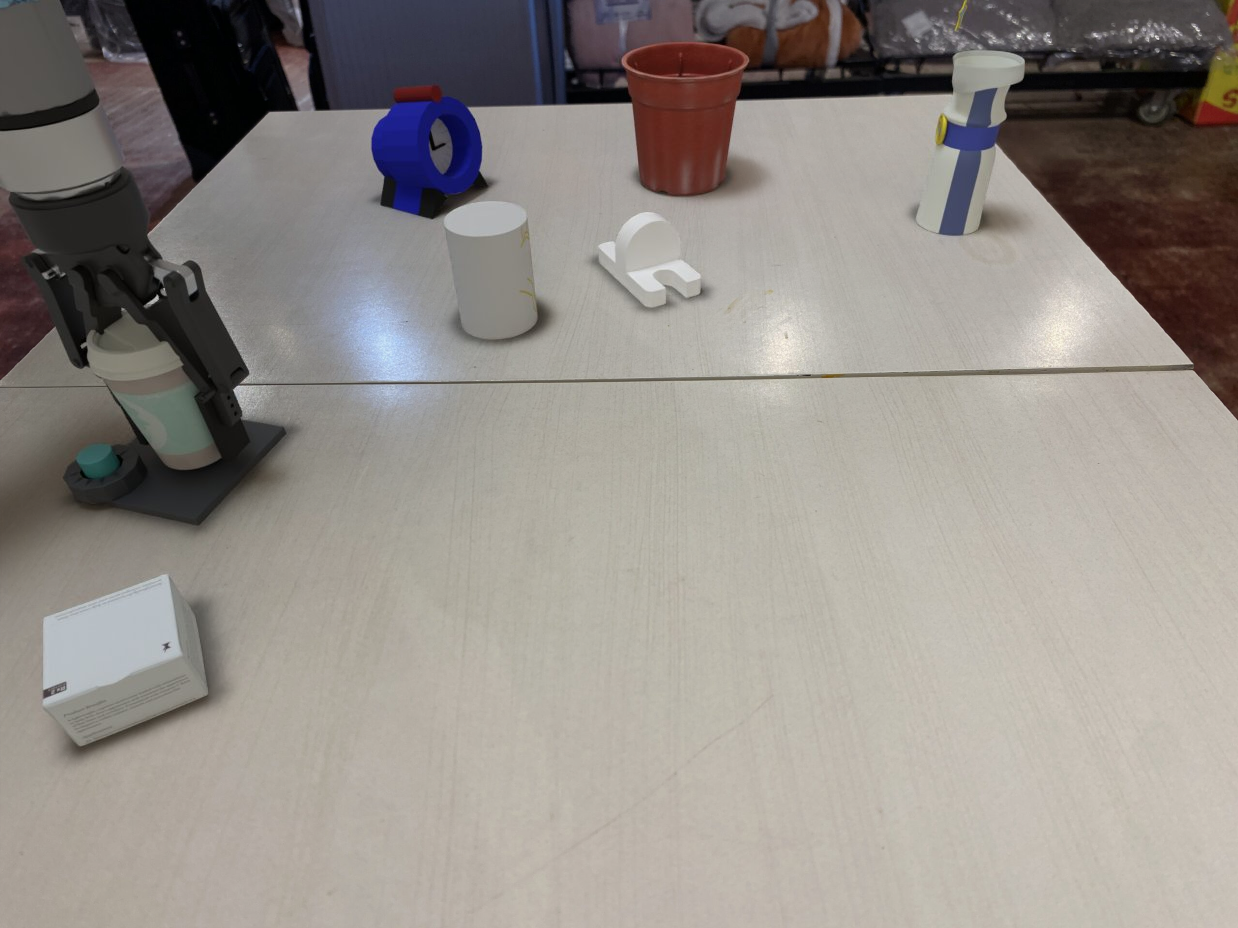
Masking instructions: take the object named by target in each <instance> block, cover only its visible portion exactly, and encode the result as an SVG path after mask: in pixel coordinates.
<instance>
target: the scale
mask: <svg viewBox="0 0 1238 928" xmlns="http://www.w3.org/2000/svg"><path fill="white" fill-rule="evenodd" d="M241 420H242V423H243V425H244V427H245V430H246V432H247V434H248V437H249V439H250V443H249V444H248V445H247V446H246V447H245V448H244V449H243V450H242V451H241V452H240V453H239V454H238V455H237V456H236V457H235V458H234V459H233V460H232V461H231V462H229V461H224V460H223V459H222V458H220V459H219V460H217V461H215V462H213V463H211V464H209V465H207V466H204V467H200V468H196V469H190V470H178V469H173V468H170V467H168V466H166V465H165V464H164V463H163V461H162V460H161V459H160V457H159V456H158V454H157V453H156V452H155V450H154V449H153V448H152V446H151V445H150V444H149V445H143V444H140V442H139V441H138V439H137V437H136V436H135V438H134V439H133V440H131V442H129V443H128V444H126V445H124V444H120V443H118V444H109V445H110V446H111V447H112V449H113V451H114V453H115V454H116V456H117V458H118V460H119V461H120V467H119V468H118V469H117V470H116V471H115V472H114V473H112V474H109V475H107V476H105V477H103V478H97V479H90V478H88V477H87V476H86V475H85V473H84V472H83V470H82V469H81V467H80V465H79V464H78V462H77V460H76V459H74V460H73V462H71V463H70V464H68V465H67V466H66V469H65V471H64V474H63V477H62V479H63V481H64V482H65V485H66V486H67V487H68V489H69V490H70V492H71V493H72V495H73V497H74V498H75V500H76V501H78V502H82V503H86V504H90V505H95V504H99V505H104V506H109V507H113V508H118V509H122V510H126V511H131V512H136V513H141V514H145V515H149V516H154V517H159V518H162V519H167V520H172V521H176V522H181V523H186V524H190V525H195V526H199V525H200V524H202V522H204V521H205V520H206V518H207V517H208V516H209V515H211V513H212V512H213V511H214V510H215V509H216V508H217V507H218V506H219V504H220V503H221V502H222V501H224V500H225V498H226V497H227V496H228V495H229V494H230V493H231V492H232V491H233V490H234V489H235V488H236V487H237V486H238V485H239V484H240V483H241V482H242V481H243V480H244V478H245V477H247V475H248V474H249V473H250V472H251V471H252V470H253V469H254V468H255V467H256V466H257V465H258V464H259V463H260V462H261V461H262V459H263V458H264V457H265V456H266V455H267V454H269V452H270V451H271V450H273V448H274V447H275V446H276V445H277V444H278V443H279V442H280V440H281V439H282V438H283V437H284V436H286V435H287V431H286V429H285V427H284V426H279V425H274V424H270V423H269V424H268V423H263V422H258V421H252V420H246V419H242V418H241Z"/></svg>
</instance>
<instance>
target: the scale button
mask: <svg viewBox="0 0 1238 928" xmlns="http://www.w3.org/2000/svg"><path fill="white" fill-rule="evenodd" d="M110 445H111V444H109V443H103V442H101V443H94V444H91V445H88V446H86V447H85V448H83V449H81V450H80V451H79V452H78V453H77V455H76V459H75V460H77V462H78V464H79V465H80V467H81V469H82V470H83V472H84V473H85V475H86V476H87V477H88V478H90V479H97V478H103V477H105V476H107V475H109V474H112V473H114V472H115V471H116V470H117V469H118V468H119V467H120V461H119V460H118V458H117V456H116V454H115V453H114V451H113V449H112V447H111V446H110Z"/></svg>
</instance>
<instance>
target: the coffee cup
mask: <svg viewBox="0 0 1238 928" xmlns="http://www.w3.org/2000/svg"><path fill="white" fill-rule="evenodd" d="M152 304H153V303H147V304H146V305H144V307H145V308H148V307H149V306H151V305H152ZM86 342H87V343H86ZM86 342H85V343H86V345H87V348H88V353H87V359H88V361H89V365H90V368H89V369H90V370H91V372H92V373H93V374H94V373H95V374H96V375H98V376H99V377H102V378H103V379H102V380H103V382H104V381H105V382H104V384H105V383H106V384H107V385H108V387H109V388H110V390H111V391H112V392H113V394H114V395H115V396H116V398H117V399H118V401H119V402H120V403H121V405H122V406H123V408H124V409H125V410H126V412H127V413H128V414H129V416H130V417H131V419H132V420H133V421H134V423H135V424H136V426H137V427H138V428H139V430H140V431H141V432H142V434H143V435H144V437H145V438H146V439H147V441H148V442H149V444H150V445H151V446H152V448H153V449H154V450H155V452H156V453H157V454H158V456H159V457H160V459H161V460H162V461H163V463H164V464H165V465H166V466H168V467H170V468H173V469H178V470H190V469H196V468H200V467H204V466H207V465H209V464H211V463H213V462H215V461H217V460H219V459H220V458H222V457H221V455H220V453H219V451H218V449H217V446H216V444H215V442H214V440H213V438H212V436H211V433H210V431H209V429H208V427H207V425H206V422H205V420H204V418H203V416H202V414H201V412H200V409H199V407H198V405H197V403H196V401H195V399H194V396H195V395H196V394H198V393H199V392H200V391H199V389H198V388H197V387H196V386H195V384H194V383H193V382H192V381H191V380H190V378H189V377H188V376H187V375H186V373H185V372H184V371H183V369H182V366H183V365H184V364H183V363H182V362H181V360H180V357H179V356H177V355H176V353H175V352H174V351H173V349H172V348H171V346H170V345H169V343H168V342H165V341H162V342H159V340H158V339H157V338H156V337H155V335H154V334H153V333H152V332H151V331H150V329H149V328H148V327H147V326H146V325H141V324H138V323H136V322H135V321H134V319H133V318H132V317H131V316H130V314H129V313H128V312H127V311H126V310H125V309H122V318H120V319H119V320H117V321H116V322H115V323H113V324H112V325H110V326H109V327H107V328H106V329H105V330H104V334H103V335H100V334H99V333H97V332H96V331H95V330H91V331H90V332H89V334H88V336H87V339H86ZM95 374H94V375H95ZM96 375H95V376H96ZM99 377H98V378H99ZM209 377H210V375H209V376H208V378H209ZM106 384H105V385H106Z"/></svg>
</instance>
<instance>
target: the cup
mask: <svg viewBox="0 0 1238 928" xmlns="http://www.w3.org/2000/svg"><path fill="white" fill-rule="evenodd" d="M443 226H444V232H445V233H444V234H445V238H446V244H447V250H448V256H449V260H450V261H449V262H450V266H451V272H452V278H453V284H454V288H455V295H456V300H457V301H456V302H457V307H458V311H459V317H460V318H459V319H460V323H461V327H462V329H463V330H464V331H465V332H466V333H467V334H468V335H470V336H473V337H475V338H479V339H483V340H506V339H510V338H514V337H518V336H520V335H522V334H525V333H527V331H530V330H531V329H532V328H533V327H534V326H535V325H536V324H537V321H538V319H539V318H538V317H539V316H538V315H539V314H538V306H537V305H538V304H537V297H536V287H535V286H536V285H535V276H534V268H533V267H534V266H533V259H532V249H531V238H530V229H529V219H528V213H527V211H526V209H525V208H523V207H522V206H520V205H518V204H516V203H513V202H508V201H501V200H485V201H483V200H482V201H477V202H472V203H467V204H464V205H460V206H459V207H457V208H454V209H453V210H451V211H450V212H448V213H447V214H446V215H445V216H444V218H443Z"/></svg>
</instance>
